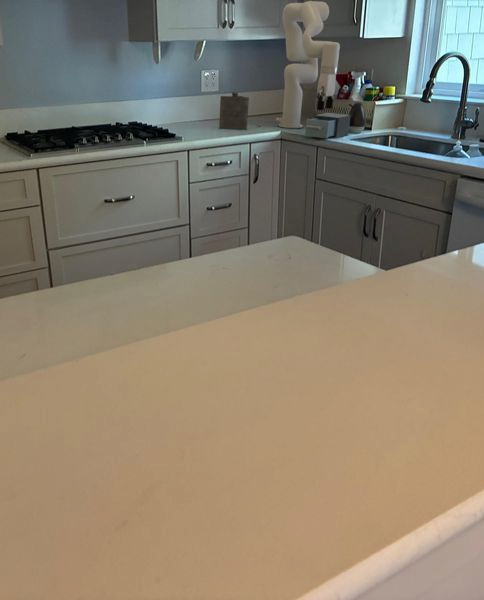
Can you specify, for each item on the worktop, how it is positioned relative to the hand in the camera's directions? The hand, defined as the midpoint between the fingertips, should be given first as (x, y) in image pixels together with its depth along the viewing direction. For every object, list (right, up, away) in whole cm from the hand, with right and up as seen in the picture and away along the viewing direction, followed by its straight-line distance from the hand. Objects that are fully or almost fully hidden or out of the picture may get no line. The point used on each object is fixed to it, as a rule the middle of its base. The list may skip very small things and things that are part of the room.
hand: (324, 109), depth 293 cm
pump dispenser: (+20, -5, +24) cm, 32 cm away
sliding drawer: (-2, -12, +3) cm, 13 cm away
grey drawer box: (+6, -9, +13) cm, 17 cm away
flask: (-42, -3, +24) cm, 49 cm away
